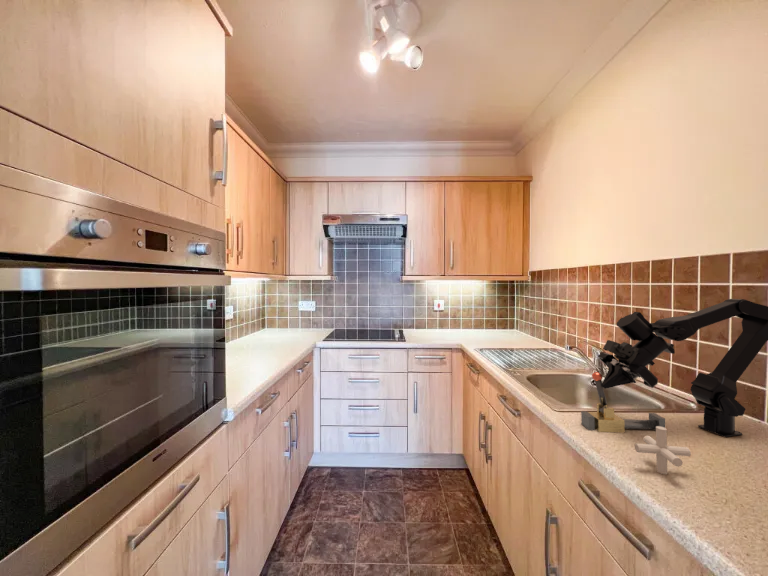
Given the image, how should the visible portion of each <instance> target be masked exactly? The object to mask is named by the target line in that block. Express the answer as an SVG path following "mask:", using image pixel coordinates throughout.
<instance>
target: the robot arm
mask: <svg viewBox="0 0 768 576" xmlns="http://www.w3.org/2000/svg"><path fill="white" fill-rule="evenodd" d="M734 317H737V318H739V319H741V328H742V329H741V330H742V331H741V333H740V335H739V336H738V337H737V338H736V339H735V341H734V342H733V344H732V346H731V347H730V348H729V350H727V352H726V353H725V355H724V356H723V357H722V359H721V360H720V361H719V363H718V364H717V365H716V367H715V368H714V370H713V371H711V372H709V373H707V374H706V373H702V372H699V373H697V375H696V377H695V379H694V380H693V381H691V382H690V384H691V386H690V391H691V392H690V393H691V396H692V397H693V398H694V399H695V401H696V404H697V405H700V406H703V407H704V408H703V424H699V425H697V427H698V428H700V429H702V430H704V431H707V432H710V433H713V434H715V435H718V436H721V437H722V438H723V437H724V438H729V437H734V436H736V437H737V436H742V435H743V433H742V432H740V431H738V430H736V417H739V416H740V417H743V416H744V414H745V411H746V407H744V406H743V405H742V404H741V403H740V402H739V401H737V400H736V397H737V395H738V388H737V382H738V381H739V379H740V378H741V376H742V375H743V374H744V373H745V371H746V370H747V368H748V367H749V366H750V364H751V363H752V362H753V360H754V359H755V358H756V356H757V355H758V353H760V351H761V350H762V348H763V347H764V346H765V344H766V343H767V342H768V306H767V305H764V304H760V303H756V302H754V301H750V300H748V299H745V298H743V299H742V298H728V299H724V301H722V302H720V303H717V304H713V305H711V306H709V307H708V306H707V307H706V308H702V309H700V310H699V309H698V310H697V311H694V312H692V313H689V314H686V315H680V316H670V317H663V318H660V319H657V320H656V321H655V322H650V321H649V320H647V318H646V317H645V316H644V314H642V313H641V312H640V311H633V312H632V313H631V314H627V315H624V316H623V317H621V318H619V320H618V321H617V322H616V326H617V327H618V328H619V329H620V330H621V331H622V332H623V333H624V334H625V335H626V336H627V337H628V338H629V339H630V340H631V341H637V342H636V343H635V344H634V345H632V344H630V343H629V342H626V341H625V342H624V341H623V342H622V343H620V342H616V341H613V340H609V339H607V340H606V341H605V344H604V346H603V348H602V350H604V351H608V352H601V353H599V354H598V355H597V358H598V359H599V360H600V361H601V362H602V363H603V364H604V366H606V367H607V368H608V369H607V372H606V374H605V376H604V379H603V381H602V385H603V389H605V390H606V389H609V388H610V389H611V388H614V387H618V386H623V385H628V384H636V383H637V380H636V379H638V378H641V379H642V380H643V384H644V386H647V387H649V388H651V389H653V388H654V387H656V386H657V385H658V383H659V380H658V379H659V378H658V377H657V376H656V375H655V374H654V373H653V372H652V371H651V370H650V369H648V367H647V366H654V365H656V364H655V362H654V360H655V359H656V358H658V357H659V356H660V355H661V354H663V353H669V354H672V355H674V354H675V353H676V352H675V348H674V347H675V345H674V343H670V342H667V341H666V340H670V341H675V342H682V341H685V340H687V339H690V338H691V337H692V336H694V335H695V334H696V333H697V331H698V330H700V329H702V328H705V327H709V326H711V325H713V324H716V323H717V324H718V323H719V322H723V321H725V320H728V319H731V318H734ZM609 352H610V353H609ZM611 353H612V354H611Z"/></svg>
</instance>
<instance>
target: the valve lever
mask: <svg viewBox="0 0 768 576" xmlns="http://www.w3.org/2000/svg"><path fill="white" fill-rule="evenodd" d="M591 378H592V379H593V381H594V384H595V387H596V390H597V395H598V399H599V403H600V404H601V405H603V406H601V407H600V408H599V411H600V412H601V413H602V414H603V415H604V408H608V402H607V399H606V393H605V390H604V388H603V385H602V382H603V381H602V379H603V375H602V374H601V373H600V372H598V371H594V372H593V373H592V374H591ZM605 405H607V407H606V406H605Z"/></svg>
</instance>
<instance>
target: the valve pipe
mask: <svg viewBox="0 0 768 576" xmlns="http://www.w3.org/2000/svg"><path fill="white" fill-rule="evenodd" d="M601 406H603V405H601V404H600V402H599V403H598V402H597V403H596V411H585V410H584V411H583V410H581V411H580V414H581V418H580V419H581V420H580V421H581V422H580V423H581V425H582V426H583V427H584V428H585V429H586V430H588V431H595V430H596V432H598V433H623V434H624V433H625V432H626V431H625V430H652V431H653V430H654V431H656V426H661V427H664V428H666V418H665V417H663V416H661V415H659V414H657V413H655V412H648V419H632V418H631V419H625V418H622V417H620V416H619V415H617V414H616V413H615V408H614V407H608V404H607V405H605V406H606V407H607V408H604V415H603V414H602V413H601V412H600V411H599V408H600V407H601Z"/></svg>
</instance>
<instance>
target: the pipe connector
mask: <svg viewBox="0 0 768 576" xmlns="http://www.w3.org/2000/svg"><path fill="white" fill-rule="evenodd" d="M667 432H668V429H667V428H666V427H665V428H664V427H661V426H656V430H655V439H654V438H653V437H651V436H650V435H645V436H643V438H642V439H643V442H644V443H634V445H633V446H634V450H635V451H636V453H643V454H646V453H647V454H656V459H655V460H656V472H657V473H658V474H662V475H668V461H669V463H671V464H672V465H674V466H675V467H678V468H679V467H682V465H683V462H684V461H683V460H682V459H681V458H680V457H679V456H681V457H683V456H684V457H690V456H691V455H692V453H691V452H692V451H691V450H690V448H689V447H687V446H676V445H675V446H674V445H668V436H667V435H668V434H667Z"/></svg>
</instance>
